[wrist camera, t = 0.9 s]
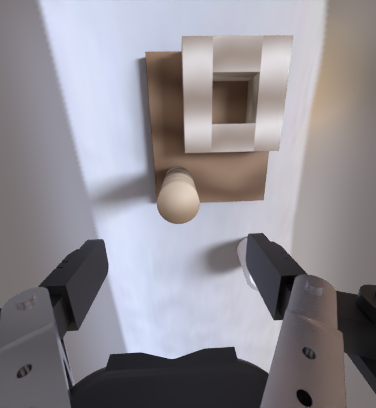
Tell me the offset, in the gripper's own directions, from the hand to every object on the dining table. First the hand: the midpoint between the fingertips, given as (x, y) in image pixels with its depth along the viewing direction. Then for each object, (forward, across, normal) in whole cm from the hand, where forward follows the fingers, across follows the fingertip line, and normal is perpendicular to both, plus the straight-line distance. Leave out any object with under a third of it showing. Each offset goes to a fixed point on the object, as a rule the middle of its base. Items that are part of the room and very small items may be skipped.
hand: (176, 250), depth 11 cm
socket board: (+21, -5, -6) cm, 23 cm away
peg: (+20, 0, 0) cm, 20 cm away
